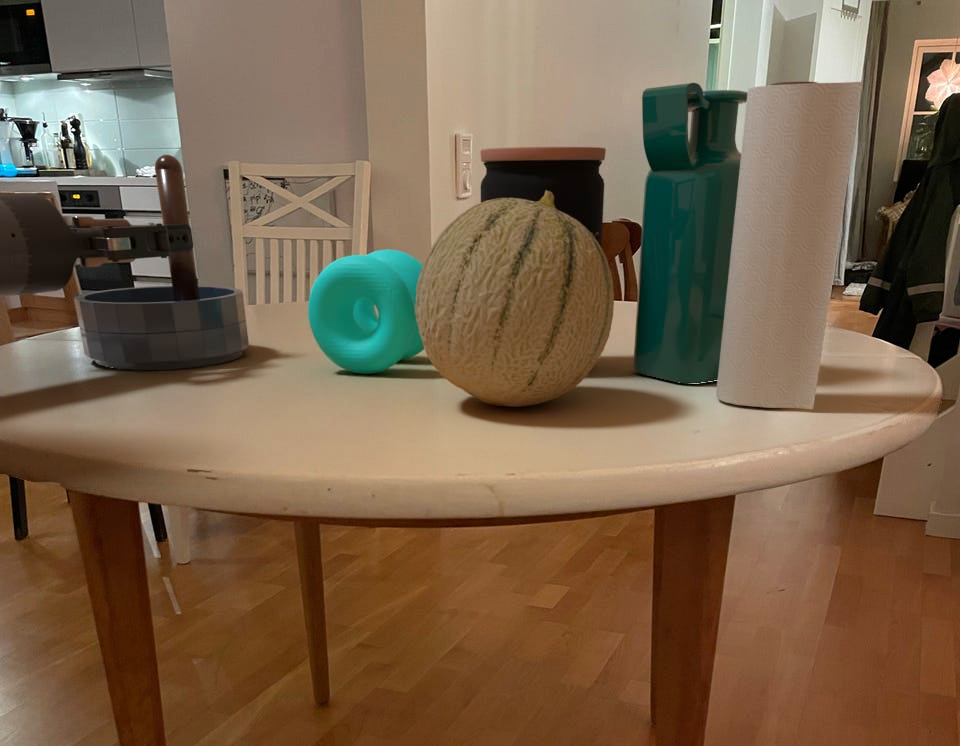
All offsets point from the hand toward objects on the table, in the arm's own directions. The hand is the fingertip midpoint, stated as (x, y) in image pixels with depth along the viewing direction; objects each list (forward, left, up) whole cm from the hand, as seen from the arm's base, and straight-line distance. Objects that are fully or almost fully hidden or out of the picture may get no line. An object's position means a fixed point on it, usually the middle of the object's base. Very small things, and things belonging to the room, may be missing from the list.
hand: (158, 236), depth 86 cm
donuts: (+21, -3, -11) cm, 24 cm away
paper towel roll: (+53, -18, -11) cm, 57 cm away
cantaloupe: (+34, -19, -11) cm, 40 cm away
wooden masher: (+1, +2, -10) cm, 11 cm away
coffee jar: (+36, -3, -11) cm, 38 cm away
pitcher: (+49, -7, -11) cm, 50 cm away
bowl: (-1, +2, -11) cm, 12 cm away
